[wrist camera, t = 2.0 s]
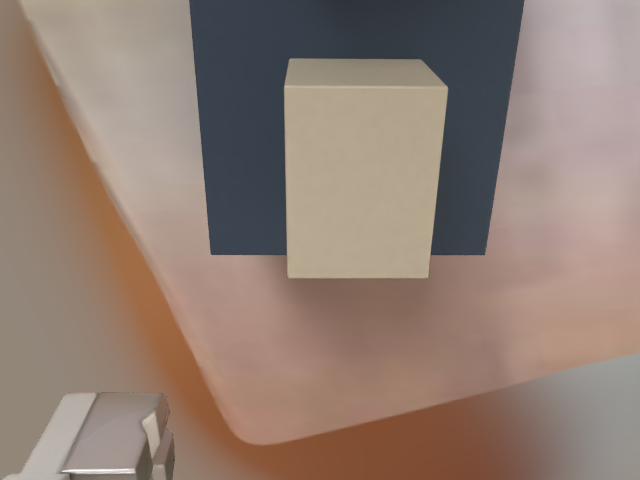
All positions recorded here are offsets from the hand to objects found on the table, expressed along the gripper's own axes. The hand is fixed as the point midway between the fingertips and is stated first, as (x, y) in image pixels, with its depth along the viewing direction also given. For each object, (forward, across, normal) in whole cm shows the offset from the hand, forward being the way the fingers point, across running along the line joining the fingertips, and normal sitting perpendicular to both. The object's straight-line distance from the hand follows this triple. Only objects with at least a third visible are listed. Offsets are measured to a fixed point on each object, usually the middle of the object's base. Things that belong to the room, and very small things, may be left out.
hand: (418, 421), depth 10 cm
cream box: (+15, 0, 0) cm, 15 cm away
